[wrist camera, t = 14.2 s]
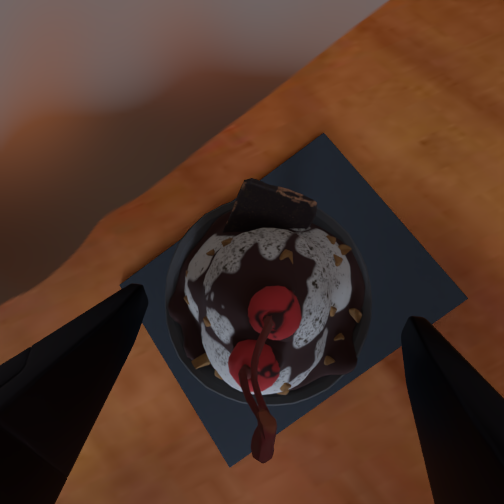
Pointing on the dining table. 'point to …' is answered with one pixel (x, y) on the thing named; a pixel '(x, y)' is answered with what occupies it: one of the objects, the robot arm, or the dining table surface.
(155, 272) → the dark blue rectangular panel
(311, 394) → the sundae
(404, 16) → the dining table surface
